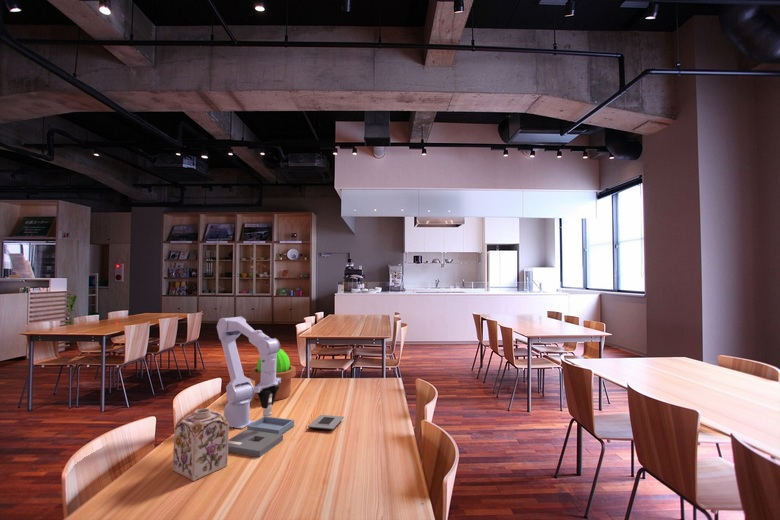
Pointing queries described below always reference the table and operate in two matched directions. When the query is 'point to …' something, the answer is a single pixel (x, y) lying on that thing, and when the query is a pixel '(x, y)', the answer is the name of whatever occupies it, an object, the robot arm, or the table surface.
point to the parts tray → (271, 425)
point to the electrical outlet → (325, 422)
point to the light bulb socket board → (253, 442)
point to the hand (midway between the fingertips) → (267, 406)
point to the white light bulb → (267, 410)
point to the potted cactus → (277, 375)
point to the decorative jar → (200, 444)
